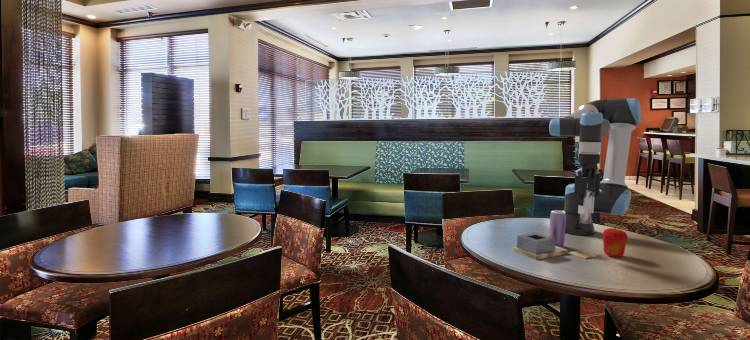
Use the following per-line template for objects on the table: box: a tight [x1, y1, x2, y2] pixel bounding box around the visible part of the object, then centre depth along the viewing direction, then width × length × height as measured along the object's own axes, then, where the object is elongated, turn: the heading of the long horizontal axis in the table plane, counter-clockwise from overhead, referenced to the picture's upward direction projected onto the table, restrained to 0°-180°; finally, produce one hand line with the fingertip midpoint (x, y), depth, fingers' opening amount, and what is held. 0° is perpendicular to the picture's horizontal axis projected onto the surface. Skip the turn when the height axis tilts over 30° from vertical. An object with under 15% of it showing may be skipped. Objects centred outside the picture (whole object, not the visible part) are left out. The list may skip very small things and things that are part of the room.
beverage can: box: [548, 209, 566, 249], centre depth 172 cm, size 6×6×15 cm
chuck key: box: [580, 190, 594, 224], centre depth 160 cm, size 6×4×12 cm
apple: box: [602, 226, 629, 258], centre depth 161 cm, size 9×8×12 cm
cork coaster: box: [568, 249, 598, 260], centre depth 162 cm, size 7×7×1 cm
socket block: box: [516, 232, 555, 255], centre depth 164 cm, size 10×10×5 cm
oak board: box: [512, 246, 569, 260], centre depth 165 cm, size 17×12×2 cm
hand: (585, 213), depth 160 cm, fingers closed on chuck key, 4 cm apart
